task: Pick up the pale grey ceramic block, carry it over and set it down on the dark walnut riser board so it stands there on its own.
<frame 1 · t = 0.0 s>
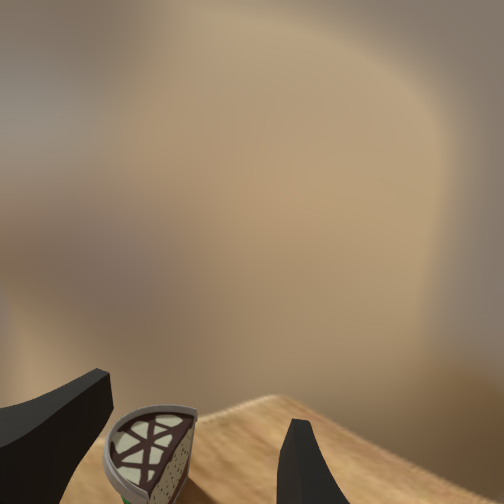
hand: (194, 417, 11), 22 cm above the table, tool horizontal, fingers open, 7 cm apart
food container: (145, 495, 24), on the table
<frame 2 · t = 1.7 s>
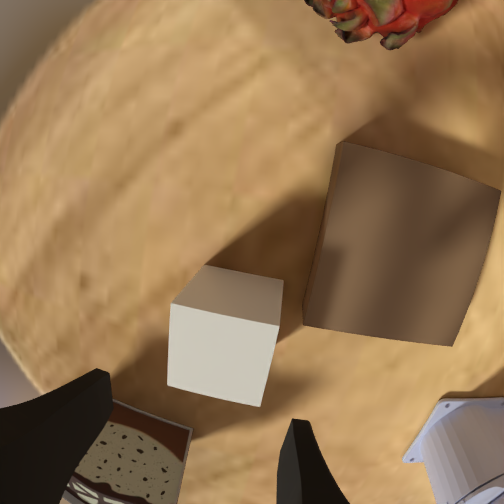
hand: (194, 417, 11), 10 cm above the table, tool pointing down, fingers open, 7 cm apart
ceramic block: (237, 308, 21), on the table
food container: (142, 429, 25), on the table
walnut riser: (396, 243, 19), on the table
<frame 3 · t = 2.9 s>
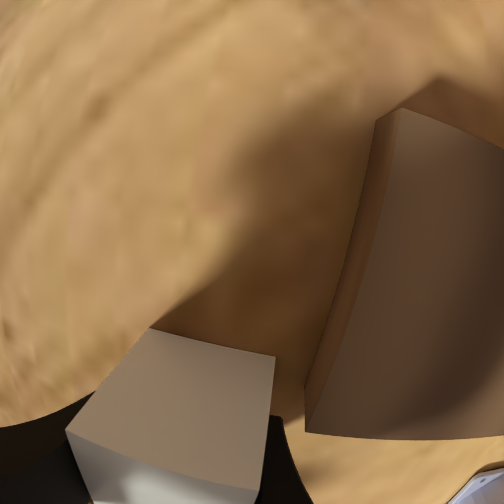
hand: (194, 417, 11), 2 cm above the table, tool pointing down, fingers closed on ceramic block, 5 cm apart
ceramic block: (204, 391, 12), on the table, touching gripper
walnut riser: (457, 291, 11), on the table
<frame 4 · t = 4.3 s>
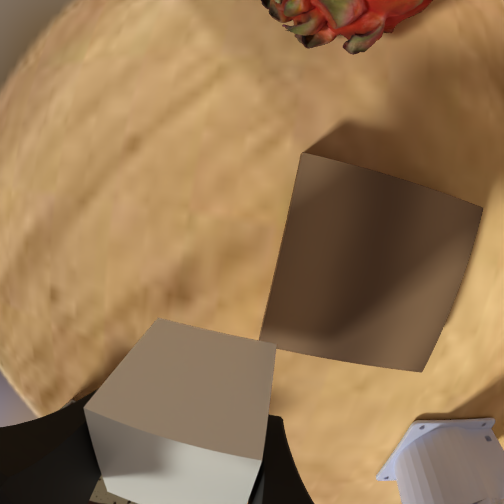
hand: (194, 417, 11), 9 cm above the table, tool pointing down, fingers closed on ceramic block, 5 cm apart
ceramic block: (209, 378, 13), point 6 cm above the table, touching gripper
food container: (116, 437, 25), on the table
walnut riser: (364, 261, 18), on the table
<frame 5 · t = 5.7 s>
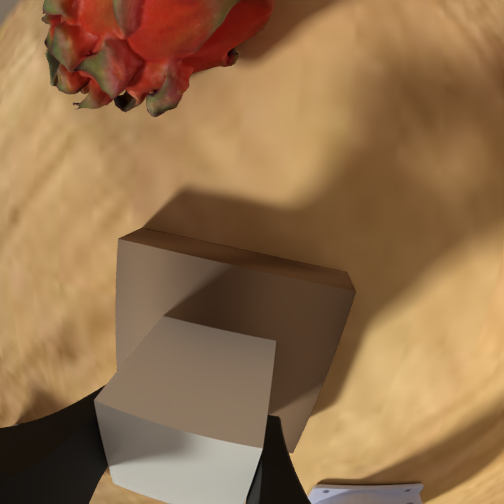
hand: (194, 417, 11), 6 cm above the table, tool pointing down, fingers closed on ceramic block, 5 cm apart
dragon fruit: (193, 19, 12), on the table
ceramic block: (212, 374, 14), point 2 cm above the table, touching gripper
walnut riser: (226, 335, 17), on the table
when the fingers open (6 cm above the table, at t = 5.9 s): ceramic block stays where it is, point 2 cm above the table.
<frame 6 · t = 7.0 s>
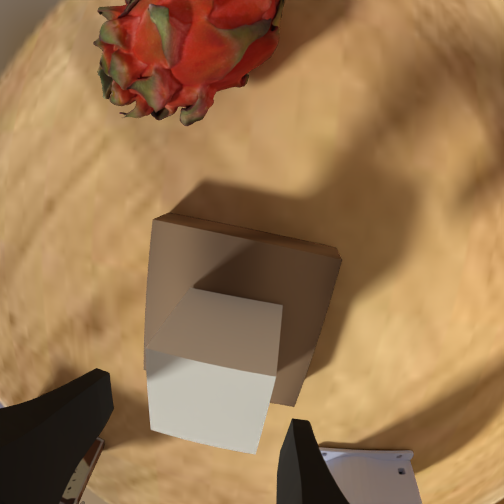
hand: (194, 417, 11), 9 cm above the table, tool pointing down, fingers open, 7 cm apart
dragon fruit: (211, 43, 16), on the table
ceramic block: (230, 336, 18), point 2 cm above the table
food container: (71, 436, 27), on the table
walnut riser: (237, 303, 21), on the table
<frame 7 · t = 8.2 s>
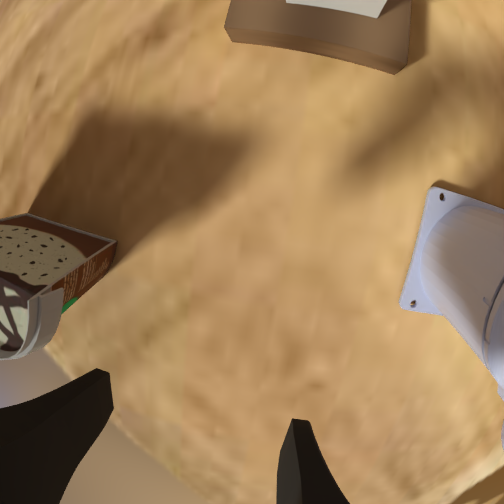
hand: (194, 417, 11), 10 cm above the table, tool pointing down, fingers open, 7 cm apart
food container: (66, 262, 22), on the table
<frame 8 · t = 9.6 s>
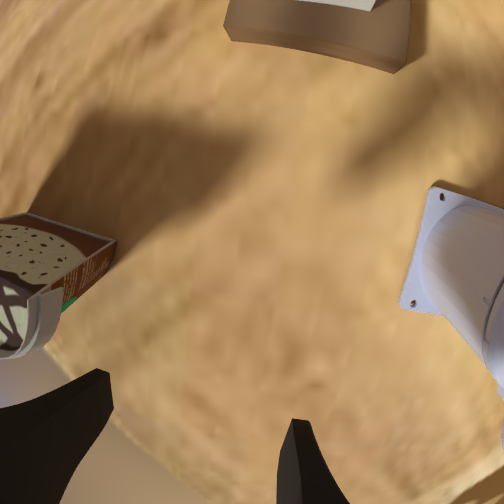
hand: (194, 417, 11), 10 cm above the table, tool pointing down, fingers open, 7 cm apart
food container: (66, 262, 22), on the table
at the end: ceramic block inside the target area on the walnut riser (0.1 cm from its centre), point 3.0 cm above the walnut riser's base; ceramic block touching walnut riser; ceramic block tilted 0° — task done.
